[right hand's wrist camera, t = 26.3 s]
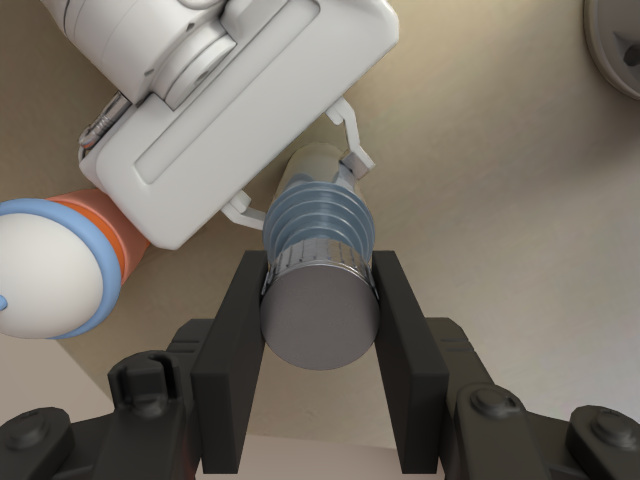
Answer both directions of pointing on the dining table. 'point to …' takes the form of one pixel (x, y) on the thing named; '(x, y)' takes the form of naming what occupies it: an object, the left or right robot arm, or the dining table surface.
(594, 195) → the dining table surface
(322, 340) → the cap
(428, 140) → the dining table surface
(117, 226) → the cup with straw
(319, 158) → the bottle
